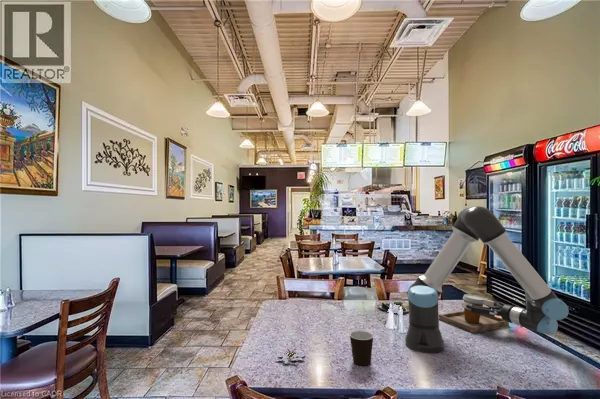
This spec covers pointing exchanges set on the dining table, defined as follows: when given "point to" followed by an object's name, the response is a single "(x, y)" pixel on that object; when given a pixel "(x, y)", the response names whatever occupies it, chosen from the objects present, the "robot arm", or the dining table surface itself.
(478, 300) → the disposable coffee cup
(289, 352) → the lily flower
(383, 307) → the salad plate
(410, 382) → the dining table surface
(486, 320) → the serving tray
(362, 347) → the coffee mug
